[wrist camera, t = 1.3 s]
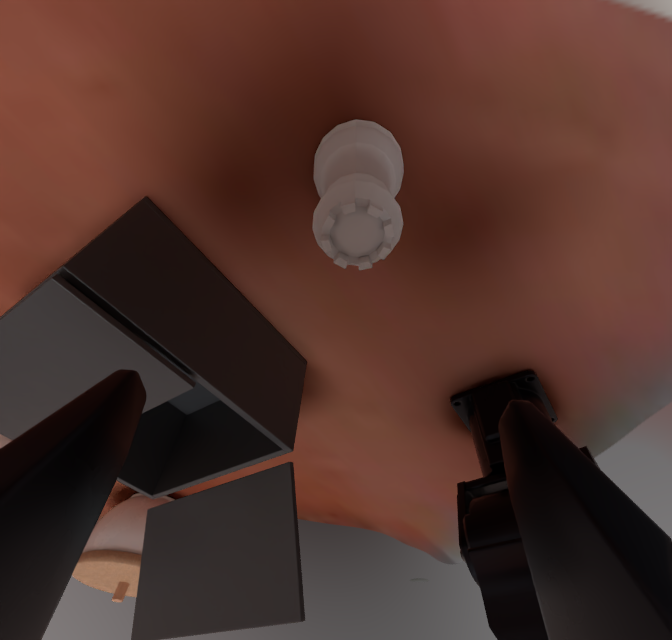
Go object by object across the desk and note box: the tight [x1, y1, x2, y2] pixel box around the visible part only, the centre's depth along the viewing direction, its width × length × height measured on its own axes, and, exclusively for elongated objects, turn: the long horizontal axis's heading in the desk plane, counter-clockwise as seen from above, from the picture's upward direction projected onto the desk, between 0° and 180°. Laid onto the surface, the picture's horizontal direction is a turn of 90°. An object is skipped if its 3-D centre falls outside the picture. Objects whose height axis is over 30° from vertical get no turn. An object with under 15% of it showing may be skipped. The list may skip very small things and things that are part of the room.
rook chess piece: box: [312, 119, 404, 270], centre depth 16 cm, size 4×4×8 cm
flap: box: [131, 462, 305, 640], centre depth 22 cm, size 7×13×1 cm
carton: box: [0, 196, 307, 500], centre depth 24 cm, size 15×13×8 cm
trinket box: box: [72, 493, 175, 602], centre depth 41 cm, size 11×11×9 cm
